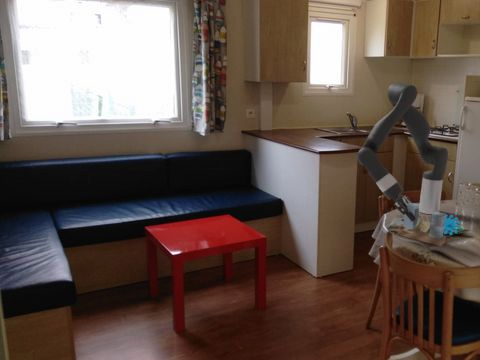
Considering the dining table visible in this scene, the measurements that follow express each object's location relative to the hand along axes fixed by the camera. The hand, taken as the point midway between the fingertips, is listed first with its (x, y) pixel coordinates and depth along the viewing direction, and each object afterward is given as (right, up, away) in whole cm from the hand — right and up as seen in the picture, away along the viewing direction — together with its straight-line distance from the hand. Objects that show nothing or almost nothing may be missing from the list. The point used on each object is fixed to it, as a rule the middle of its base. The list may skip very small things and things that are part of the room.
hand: (415, 218), depth 185 cm
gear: (+17, -7, +7) cm, 20 cm away
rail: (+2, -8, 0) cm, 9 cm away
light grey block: (-2, -4, +2) cm, 5 cm away
